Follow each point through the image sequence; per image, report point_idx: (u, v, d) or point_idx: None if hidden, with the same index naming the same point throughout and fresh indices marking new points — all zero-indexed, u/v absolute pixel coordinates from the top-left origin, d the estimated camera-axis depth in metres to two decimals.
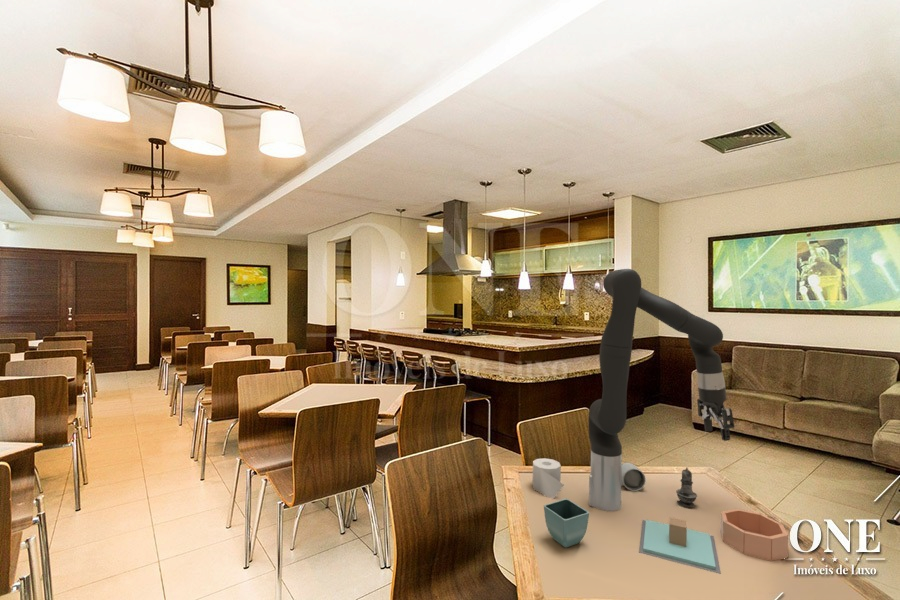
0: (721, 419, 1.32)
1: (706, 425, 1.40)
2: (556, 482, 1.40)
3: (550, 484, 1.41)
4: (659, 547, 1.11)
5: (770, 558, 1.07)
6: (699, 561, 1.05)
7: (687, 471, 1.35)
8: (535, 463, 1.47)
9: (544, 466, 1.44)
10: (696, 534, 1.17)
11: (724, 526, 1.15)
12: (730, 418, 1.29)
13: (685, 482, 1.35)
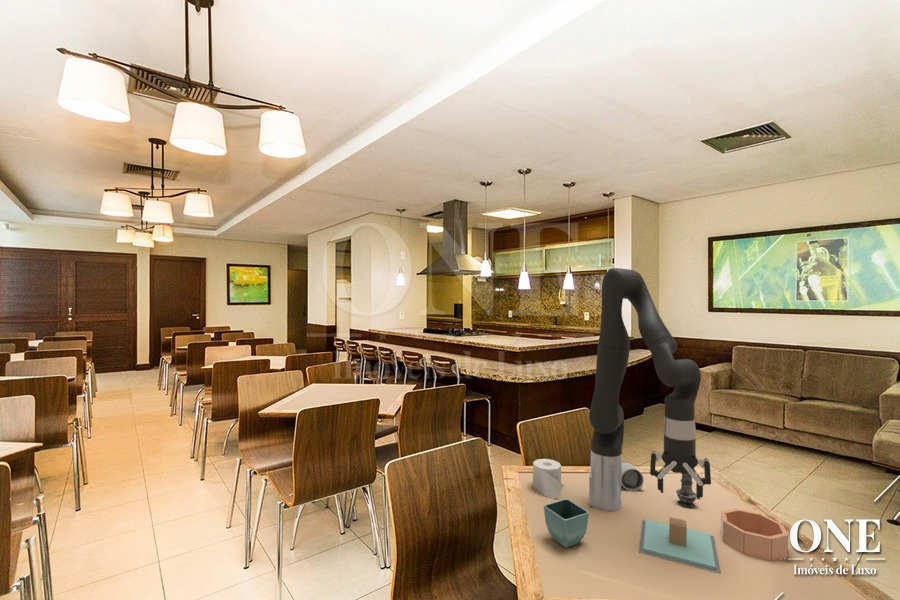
0: (663, 467, 1.16)
1: (696, 488, 1.12)
2: (557, 483, 1.40)
3: (550, 485, 1.40)
4: (659, 547, 1.11)
5: (770, 558, 1.07)
6: (699, 561, 1.05)
7: None
8: (535, 464, 1.46)
9: (544, 467, 1.44)
10: (696, 534, 1.17)
11: (724, 526, 1.15)
12: None
13: (685, 482, 1.35)
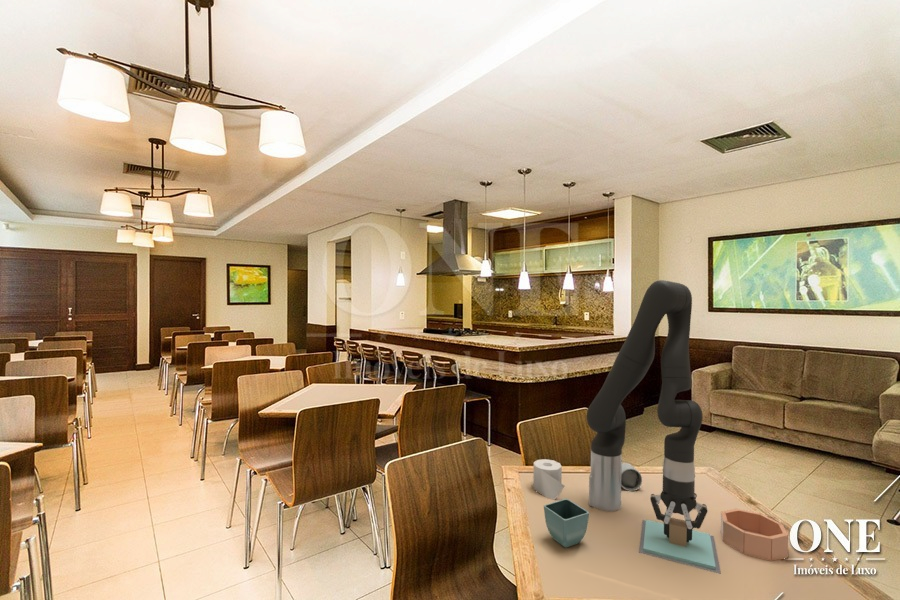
0: (666, 510, 1.15)
1: None
2: (557, 483, 1.39)
3: (551, 485, 1.40)
4: (659, 547, 1.11)
5: (770, 558, 1.07)
6: (699, 561, 1.05)
7: None
8: (536, 464, 1.46)
9: (545, 467, 1.43)
10: (696, 534, 1.17)
11: (724, 526, 1.15)
12: None
13: None
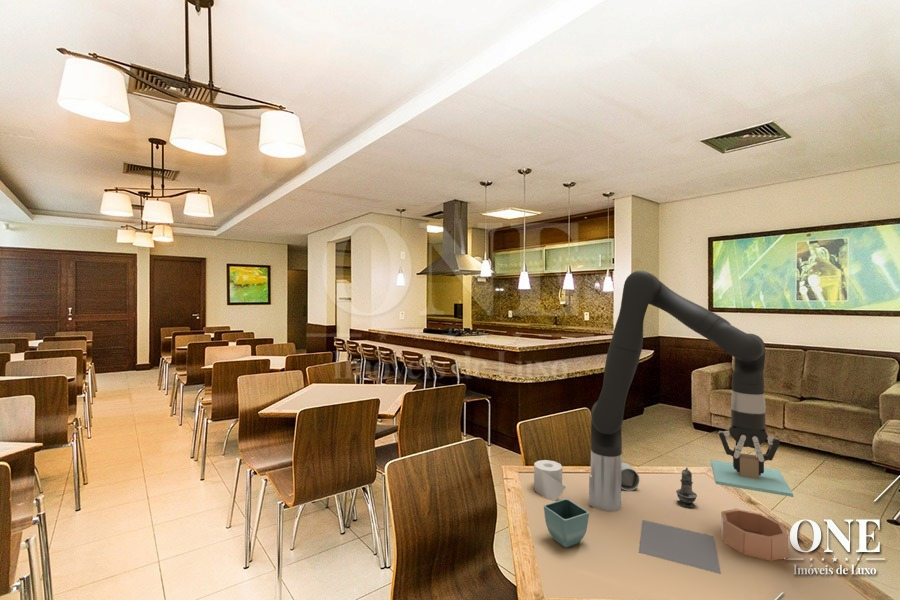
0: (735, 445, 1.15)
1: None
2: (558, 484, 1.39)
3: (552, 486, 1.39)
4: (731, 480, 1.11)
5: (770, 558, 1.07)
6: (775, 490, 1.05)
7: (687, 471, 1.35)
8: (536, 465, 1.45)
9: (546, 468, 1.43)
10: (765, 470, 1.17)
11: (724, 526, 1.15)
12: (722, 443, 1.16)
13: (685, 482, 1.35)
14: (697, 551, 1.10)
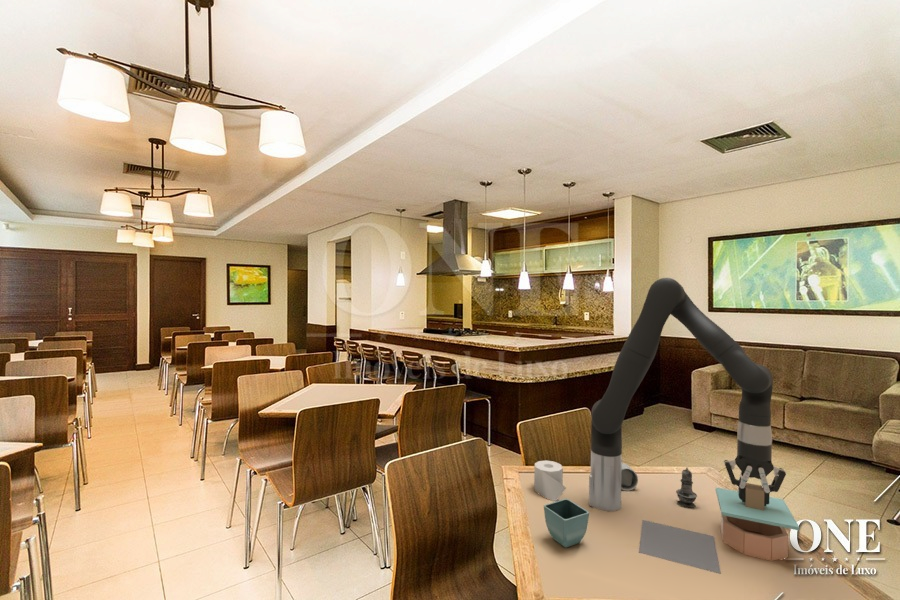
0: (741, 475, 1.16)
1: None
2: (558, 485, 1.38)
3: (552, 487, 1.39)
4: (737, 511, 1.11)
5: (770, 558, 1.07)
6: (781, 522, 1.06)
7: (687, 471, 1.35)
8: (537, 465, 1.45)
9: (546, 469, 1.42)
10: (770, 500, 1.17)
11: (724, 526, 1.15)
12: (728, 472, 1.17)
13: (685, 482, 1.35)
14: (697, 551, 1.10)
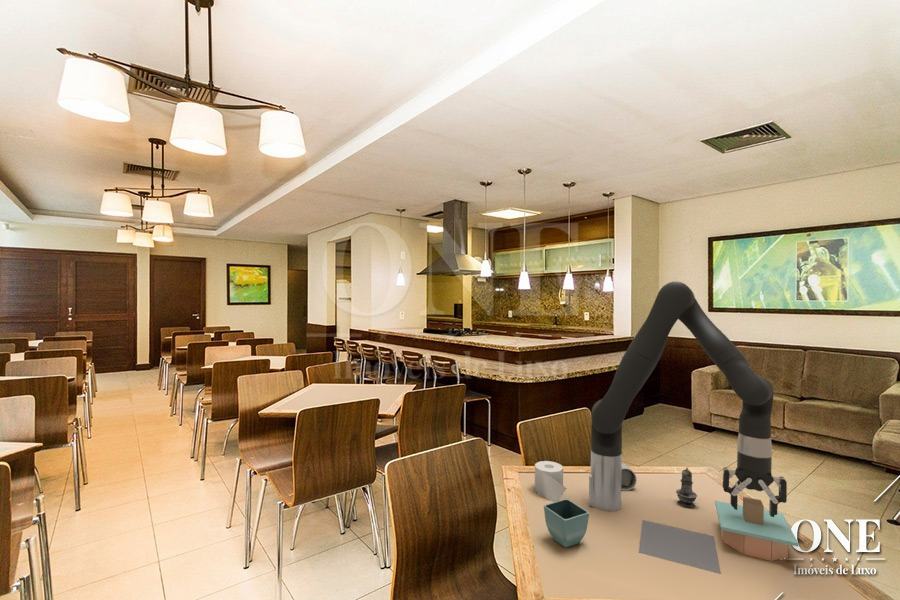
0: (736, 484, 1.16)
1: (769, 506, 1.13)
2: (559, 485, 1.38)
3: (552, 487, 1.38)
4: (736, 525, 1.11)
5: (770, 558, 1.07)
6: (780, 538, 1.06)
7: (687, 471, 1.35)
8: (537, 466, 1.44)
9: (546, 469, 1.42)
10: None
11: None
12: (723, 479, 1.17)
13: (685, 482, 1.35)
14: (697, 551, 1.10)
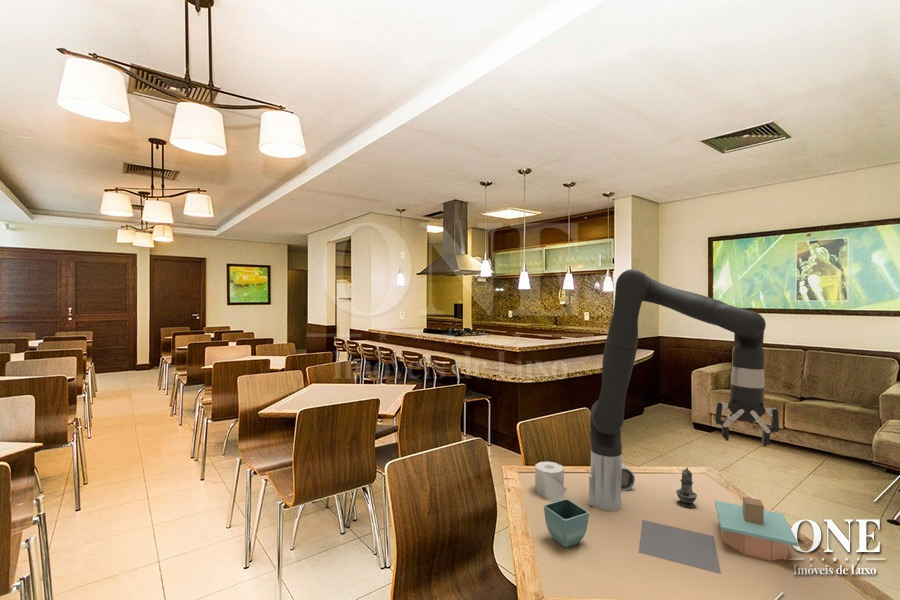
0: (728, 416, 1.18)
1: (762, 436, 1.15)
2: (559, 486, 1.37)
3: (553, 488, 1.38)
4: (736, 525, 1.11)
5: (770, 558, 1.07)
6: (780, 538, 1.06)
7: (687, 471, 1.35)
8: (538, 466, 1.44)
9: (547, 470, 1.41)
10: (770, 514, 1.17)
11: None
12: (716, 412, 1.19)
13: (685, 482, 1.35)
14: (697, 551, 1.10)
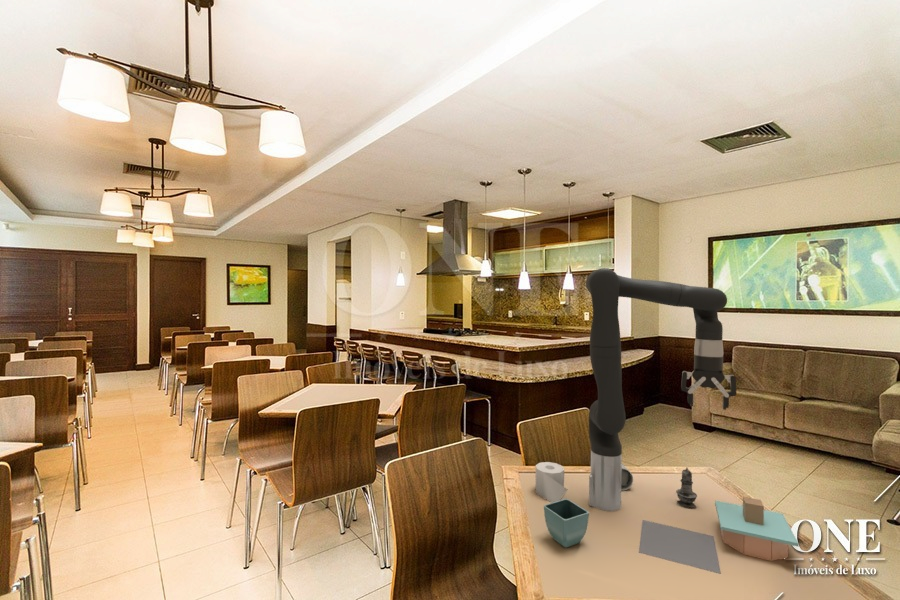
0: (693, 384, 1.31)
1: None
2: (560, 487, 1.37)
3: (553, 489, 1.37)
4: (736, 525, 1.11)
5: (770, 558, 1.07)
6: (780, 538, 1.06)
7: (687, 471, 1.35)
8: (538, 467, 1.44)
9: (547, 470, 1.41)
10: (770, 514, 1.17)
11: None
12: None
13: (685, 482, 1.35)
14: (697, 551, 1.10)
